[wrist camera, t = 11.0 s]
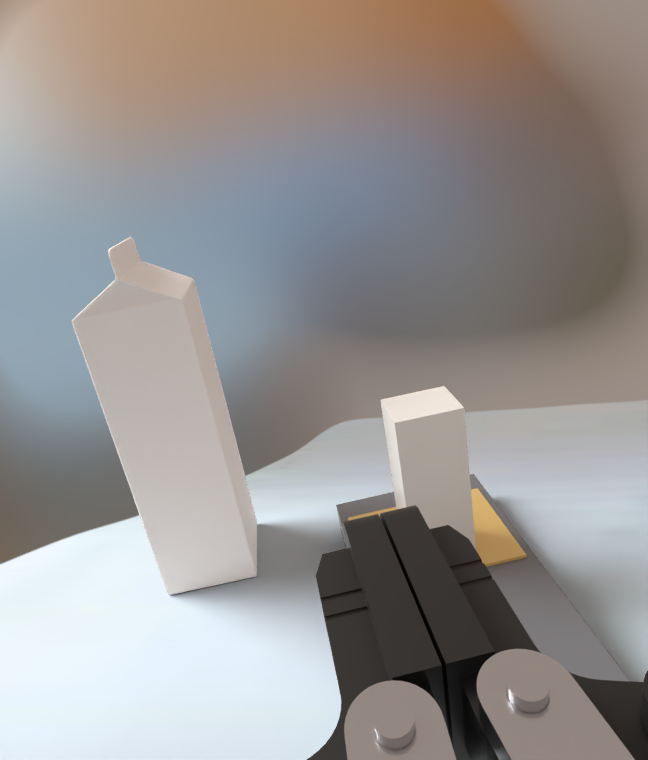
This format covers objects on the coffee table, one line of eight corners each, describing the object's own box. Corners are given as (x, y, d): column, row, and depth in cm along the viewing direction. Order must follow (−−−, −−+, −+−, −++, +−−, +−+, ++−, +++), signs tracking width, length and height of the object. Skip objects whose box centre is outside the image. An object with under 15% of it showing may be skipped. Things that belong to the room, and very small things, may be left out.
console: (491, 1080, 16) (486, 1043, 15) (340, 528, 40) (335, 502, 39) (817, 982, 16) (831, 941, 16) (475, 497, 40) (473, 471, 40)
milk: (257, 523, 42) (183, 226, 34) (257, 578, 37) (169, 238, 28) (177, 540, 42) (84, 244, 34) (165, 598, 36) (49, 259, 28)
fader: (414, 568, 31) (394, 423, 28) (400, 536, 34) (380, 399, 31) (476, 554, 31) (464, 407, 28) (457, 522, 34) (443, 386, 31)
